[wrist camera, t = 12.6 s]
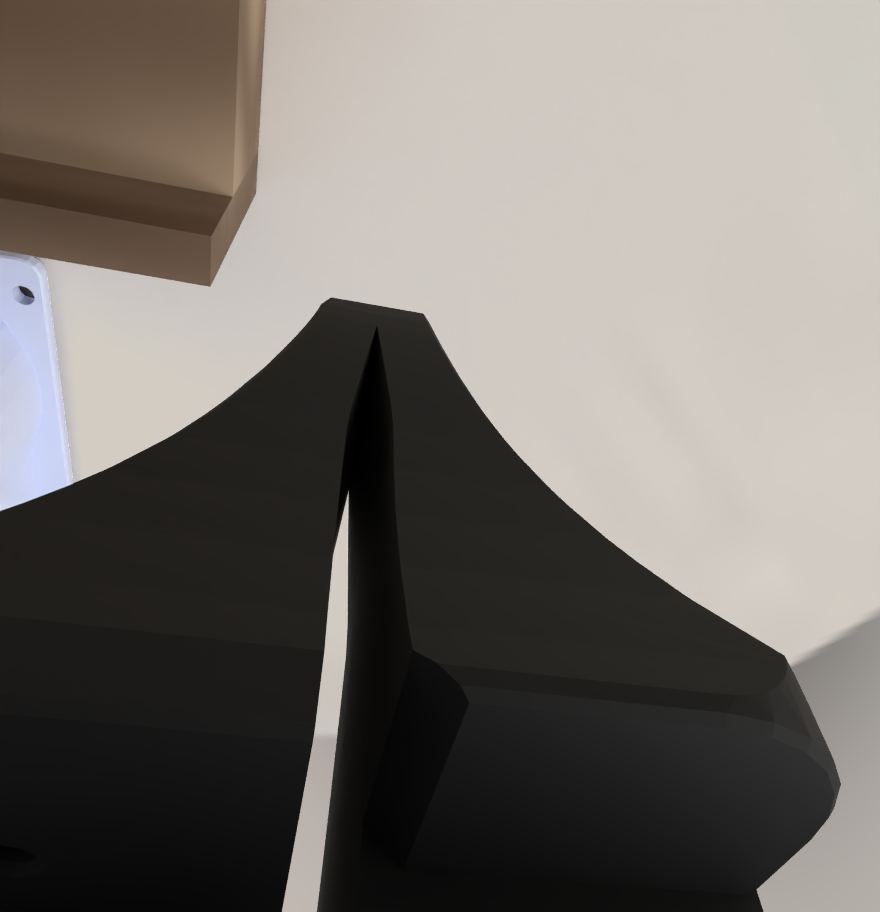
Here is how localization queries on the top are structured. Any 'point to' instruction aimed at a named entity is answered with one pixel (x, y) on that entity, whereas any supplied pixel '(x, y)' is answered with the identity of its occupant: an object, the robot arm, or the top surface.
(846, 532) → the top surface
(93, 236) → the trap box
